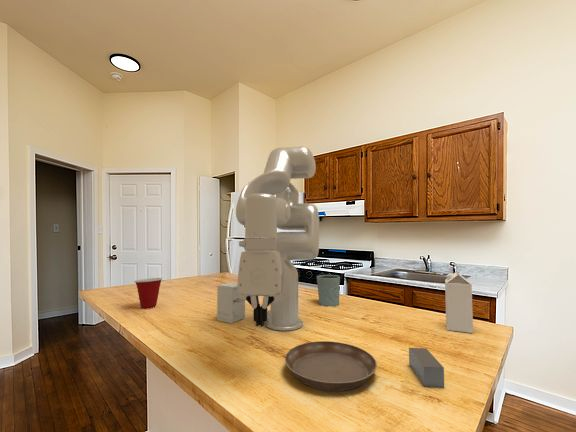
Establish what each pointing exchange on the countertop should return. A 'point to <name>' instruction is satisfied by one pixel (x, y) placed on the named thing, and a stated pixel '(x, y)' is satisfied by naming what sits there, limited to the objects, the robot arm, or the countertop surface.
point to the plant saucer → (330, 365)
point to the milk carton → (458, 303)
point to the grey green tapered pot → (328, 290)
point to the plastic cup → (148, 291)
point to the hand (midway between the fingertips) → (260, 324)
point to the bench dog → (426, 367)
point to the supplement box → (229, 303)
